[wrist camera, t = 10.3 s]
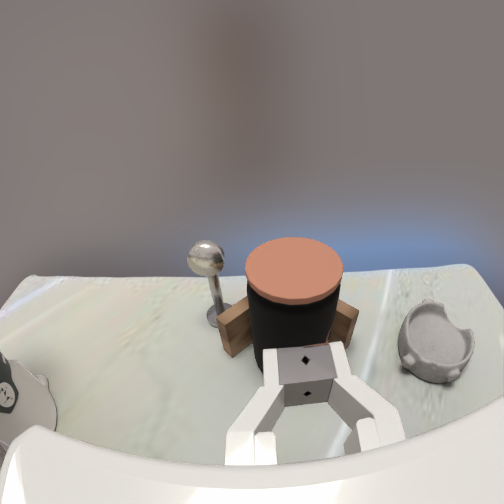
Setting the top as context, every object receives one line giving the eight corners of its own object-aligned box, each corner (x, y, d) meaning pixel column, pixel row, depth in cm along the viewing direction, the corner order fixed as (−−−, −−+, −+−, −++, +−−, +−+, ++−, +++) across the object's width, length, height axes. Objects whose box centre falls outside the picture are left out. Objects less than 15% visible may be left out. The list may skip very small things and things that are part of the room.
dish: (412, 308, 44) (420, 289, 42) (470, 340, 36) (482, 321, 33) (378, 362, 37) (387, 344, 34) (446, 402, 28) (462, 387, 25)
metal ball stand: (206, 328, 46) (183, 248, 36) (209, 306, 50) (191, 228, 40) (235, 328, 45) (220, 246, 36) (237, 306, 49) (224, 226, 40)
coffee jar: (333, 377, 36) (359, 288, 25) (260, 392, 35) (250, 306, 25) (314, 324, 44) (324, 231, 34) (251, 334, 44) (240, 242, 33)
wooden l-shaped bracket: (223, 357, 41) (214, 325, 36) (230, 298, 51) (224, 265, 46) (350, 351, 39) (361, 318, 35) (336, 294, 50) (342, 259, 45)
